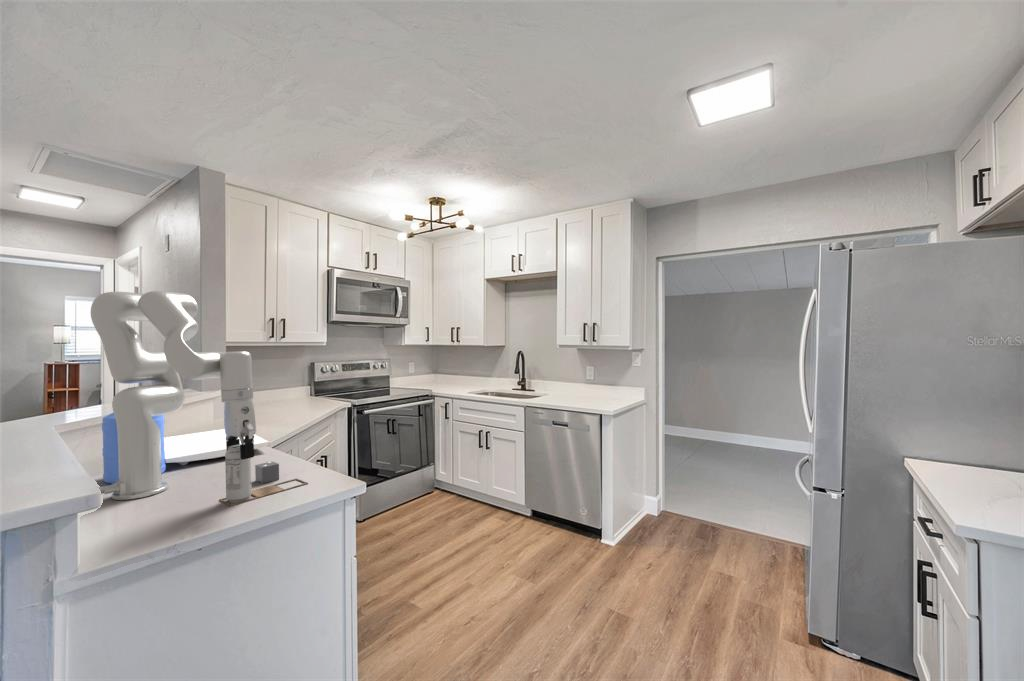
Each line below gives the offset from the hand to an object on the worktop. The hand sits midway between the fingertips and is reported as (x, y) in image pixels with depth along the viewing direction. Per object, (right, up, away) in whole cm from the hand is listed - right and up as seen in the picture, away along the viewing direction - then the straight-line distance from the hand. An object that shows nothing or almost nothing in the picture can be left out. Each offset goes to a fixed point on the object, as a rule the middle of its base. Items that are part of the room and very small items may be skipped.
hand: (240, 456), depth 118 cm
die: (-2, -12, +16) cm, 21 cm away
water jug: (-50, -13, +23) cm, 56 cm away
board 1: (-48, -14, +55) cm, 74 cm away
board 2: (+4, -12, +6) cm, 14 cm away
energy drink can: (0, -13, 0) cm, 12 cm away
